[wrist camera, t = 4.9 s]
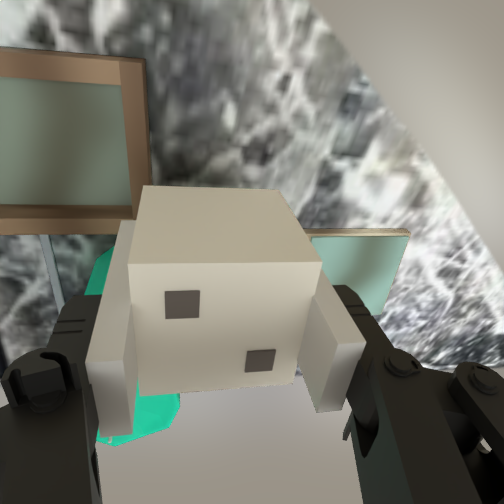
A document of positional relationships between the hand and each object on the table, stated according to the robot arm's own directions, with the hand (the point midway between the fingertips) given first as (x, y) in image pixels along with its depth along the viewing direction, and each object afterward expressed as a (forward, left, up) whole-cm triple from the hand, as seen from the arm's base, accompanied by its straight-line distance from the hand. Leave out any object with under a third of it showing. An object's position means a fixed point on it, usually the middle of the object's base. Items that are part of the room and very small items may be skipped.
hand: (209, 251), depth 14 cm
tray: (-8, +1, -10) cm, 12 cm away
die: (0, 0, 0) cm, 0 cm away
